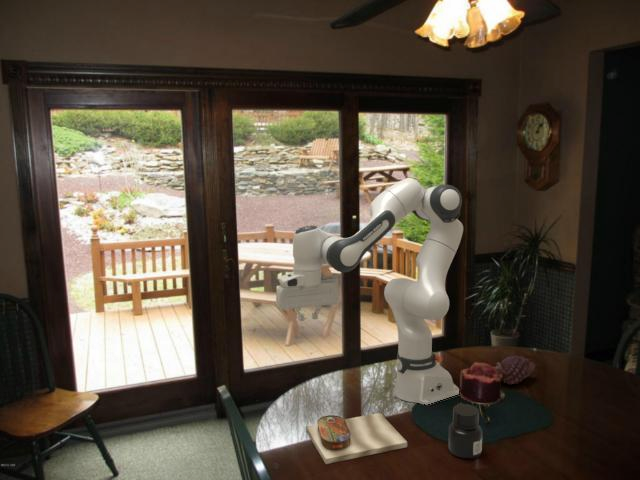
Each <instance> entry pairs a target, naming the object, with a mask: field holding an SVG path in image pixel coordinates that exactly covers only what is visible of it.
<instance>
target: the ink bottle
mask: <svg viewBox="0 0 640 480" xmlns="http://www.w3.org/2000/svg"><path fill="white" fill-rule="evenodd" d="M479 421H480V410H479V408H478V407H476V406H474V405H472V404H466V403H460V404H456V405H454V406H453V408H452V422H451V423H450V424H449V426H448V445H447V446H448V451H449V452H450V453H451V454H453V455H454V456H455V457H458V458H460V459H461V458H462V459H476V458H478V457H480V456H481V454H482V453H483V452H482V451H483V429H482V427H481V426H480V425H479V423H480V422H479Z"/></svg>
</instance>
